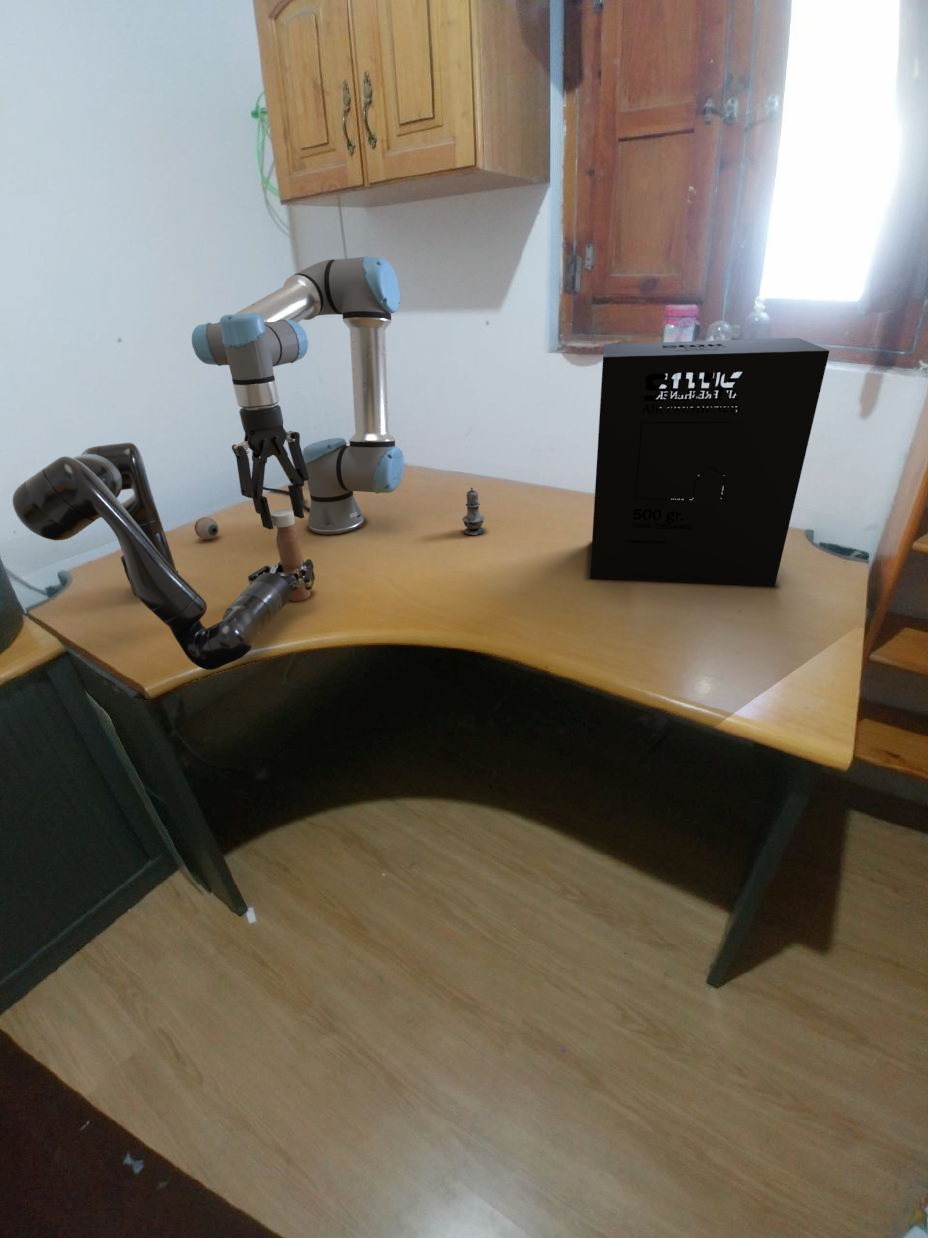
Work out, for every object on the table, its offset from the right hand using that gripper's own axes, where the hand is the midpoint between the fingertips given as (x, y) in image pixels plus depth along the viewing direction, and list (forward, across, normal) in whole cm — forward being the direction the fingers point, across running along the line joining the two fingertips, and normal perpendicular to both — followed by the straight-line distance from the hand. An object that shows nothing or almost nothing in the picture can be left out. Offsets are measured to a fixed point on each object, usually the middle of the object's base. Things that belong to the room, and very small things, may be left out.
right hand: (283, 521), depth 124 cm
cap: (-2, 0, 0) cm, 2 cm away
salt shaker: (+17, -50, +7) cm, 54 cm away
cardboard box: (+17, -62, +58) cm, 87 cm away
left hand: (+11, -2, -1) cm, 11 cm away
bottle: (+17, 0, 0) cm, 17 cm away
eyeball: (+17, -5, -49) cm, 52 cm away
